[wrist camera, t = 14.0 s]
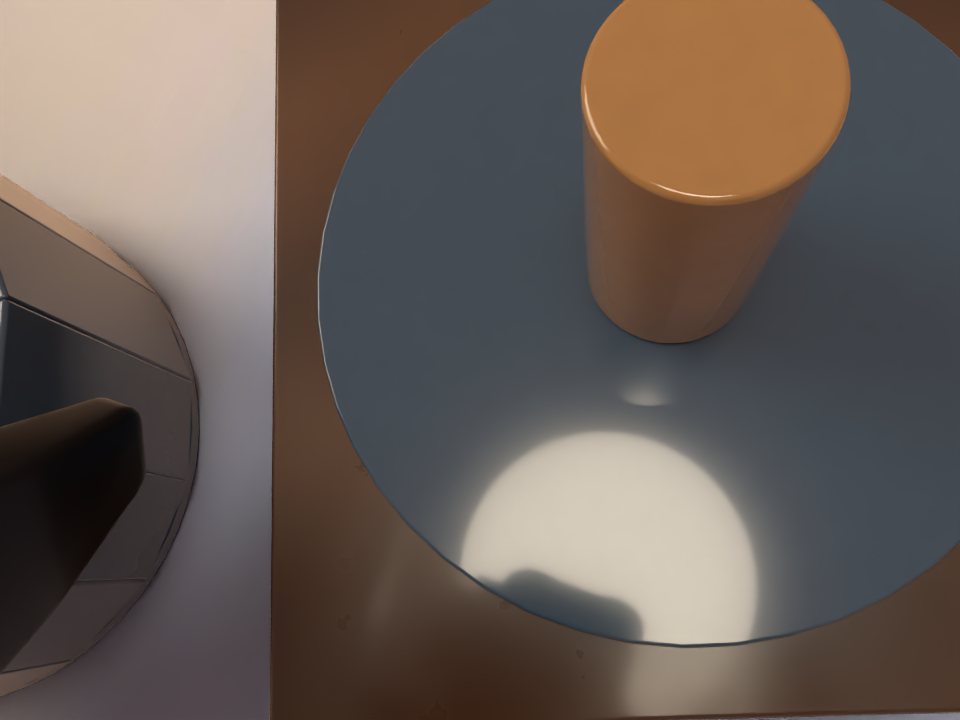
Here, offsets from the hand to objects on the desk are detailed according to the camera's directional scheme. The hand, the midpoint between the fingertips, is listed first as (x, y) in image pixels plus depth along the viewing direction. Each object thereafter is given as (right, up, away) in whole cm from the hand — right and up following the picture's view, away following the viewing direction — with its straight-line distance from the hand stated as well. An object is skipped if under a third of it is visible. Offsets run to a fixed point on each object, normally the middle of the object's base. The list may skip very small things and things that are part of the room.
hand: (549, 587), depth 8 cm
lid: (+2, +4, +6) cm, 7 cm away
